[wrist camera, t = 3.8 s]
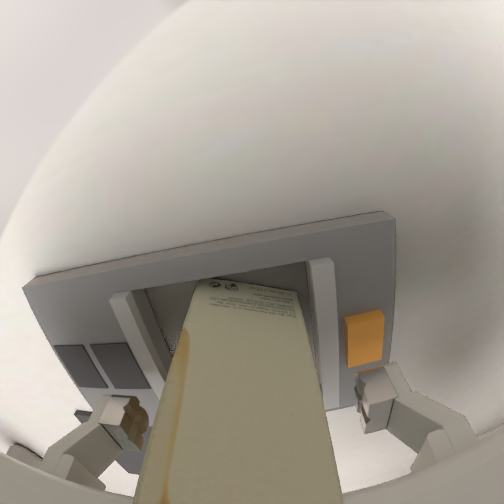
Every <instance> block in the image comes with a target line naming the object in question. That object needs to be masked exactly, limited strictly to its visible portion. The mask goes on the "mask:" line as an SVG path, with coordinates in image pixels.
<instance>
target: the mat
mask: <svg viewBox="0 0 504 504" xmlns="http://www.w3.org/2000/svg"><path fill="white" fill-rule="evenodd" d="M91 414H92V413H91V412H83V411H76V412H75V414H74V415H75V416H76V417H77V419H78V420H79V421H80V422H81V423H84V422H88V420H89V418H90V416H91ZM151 430H152V426H148V430H147V431H146V432H145V433H144V434H143V436H144V438H145V440H144V443H143V447H142V450H141V452H140V451H129V450H123V452H122V453H121V454H120V455H119V456H118V457H117V458H116V459H115V460H116V461H117V462H118V463H119V464H120V465H121V466H122V467H123V468H124V469H125V470H126V471H127V472H128V473H131V474H138V475H140V471H141V467H142V464H143V460H144V456H145V452H146V448H147V445H148V441H149V437H150V434H151Z"/></svg>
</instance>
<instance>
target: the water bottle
mask: <svg viewBox="0 0 504 504" xmlns="http://www.w3.org/2000/svg"><path fill="white" fill-rule="evenodd" d="M6 455H8V456H10V457H12V458H14V459H16V460H18V461H20V462H22V463H25V464H27V465H29V466H32V467H34V468H36V469H39V466H40V464H41V462H42V460H43V459H41V458H40V457H39V456H37V455H36V454H35V453H33V452H31V451H30V450H28V449H27V448H24V447H22V446H20V445H13V446H10V448H9V450H8V452H7V454H6Z"/></svg>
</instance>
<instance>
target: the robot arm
mask: <svg viewBox="0 0 504 504" xmlns="http://www.w3.org/2000/svg"><path fill="white" fill-rule="evenodd" d="M354 381H355V383H356V386H355V387H354V402H355V406H356V410H357V412H359V413H361V416H360V422H361V425H362V429H363V432H364V434H368V433H372V432H376V431H379V430H383V429H387V430H388V431H389V432H390V433H392V434H393V435H394V436H395V437H397V438H398V439H399V440H401V441H402V442H403V443H405V444H406V445H407V446H409V447H410V448H411V449H413V450H414V451H415V452H417V453H418V455H417V457H416V459H415V461H414V463H413V464H412V466H411V468H410V469H411V472H412V473H411V474H408V475H405V476H403V477H400V478H397V479H394V480H391V481H387V482H384V483H381V484H378V485H374V486H371V487H367V488H363V489H359V490H355V491H351V492H347V493H342V498H343V504H504V423H503V424H501V425H499V426H497V427H495V428H493V429H491V430H489V431H487V432H485V433H483V434H481V435H479V436H477V437H476V435H475V433H474V431H473V429H472V428H471V426H470V424H469V422H468V420H467V419H466V417H465V416H463V415H461V414H459V413H457V412H455V411H453V410H451V409H449V408H447V407H445V406H443V405H441V404H439V403H437V402H435V401H433V400H431V399H429V398H427V397H426V396H424V395H422V394H420V393H418V392H413V393H412V391H411V389H410V387H409V385H408V383H407V381H406V379H405V378H404V376H403V374H402V372H401V370H400V368H399V367H398V365H397V363H395V362H393V363H390V364H386V365H383V366H378V367H375V368H371V369H367V370H363V371H359V372H356V373H355V376H354ZM139 404H140V401H139V399H138V398H137V397H136V396H127V395H112V394H103V395H101V396H100V398H99V400H98V402H97V404H96V406H95V408H94V410H93V412H92V414H91V416H90V418H89V420H88V422H84V423H82V424H81V425H80V426H78V427H77V428H76V429H74V430H73V431H71V432H70V433H69V434H67V435H66V436H64V437H63V438H62V439H60V440H59V441H57V442H56V443H55V444H53V445H52V446H50V447H49V448H48V450H47V452H46V454H45V456H44V458H43V460H42V462H41V464H40V466H39V469H36V468H34V467H32V466H29V465H27V464H25V463H22V462H20V461H18V460H16V459H14V458H12V457H10V456H8V455H6V454H4V453H2V452H0V504H133V500H134V497H131V496H126V495H121V494H116V493H112V492H108V491H105V488H106V486H105V484H104V483H102V482H101V481H100V480H99V479H98V477H99V476H100V475H101V474H102V473H103V472H104V471H105V470H106V469H107V468H108V466H109V465H110V464H111V463H112V462H113V461H114V460H115V459H116V458H117V457H118V456H119V455H120V454H121V453H122V452H123V450H129V451H140V452H141V450H142V447H143V443H144V440H145V438H144V436H143V434H144V433H145V432H146V431H147V430H148V426H149V417H148V414H147V412H146V410H145V409H144V408H142V407H141V406H139Z"/></svg>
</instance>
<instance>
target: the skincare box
mask: <svg viewBox="0 0 504 504" xmlns="http://www.w3.org/2000/svg"><path fill="white" fill-rule="evenodd" d="M133 504H343V498H342V492H341V486H340V480H339V476H338V471H337V466H336V461H335V456H334V451H333V446H332V441H331V436H330V432H329V427H328V422H327V417H326V413H325V408H324V403H323V399H322V394H321V390H320V385H319V381H318V376H317V372H316V368H315V364H314V359H313V355H312V351H311V347H310V342H309V338H308V334H307V330H306V325H305V321H304V317H303V313H302V309H301V305H300V301H299V297H298V294H297V292H295V291H289V290H283V289H277V288H271V287H266V286H260V285H253V284H247V283H240V282H234V281H227V280H219V279H210V278H206V279H200V280H198V282H197V285H196V288H195V290H194V293H193V296H192V299H191V302H190V306H189V309H188V312H187V315H186V318H185V321H184V324H183V327H182V331H181V334H180V337H179V340H178V343H177V346H176V349H175V352H174V355H173V358H172V362H171V365H170V368H169V371H168V374H167V378H166V381H165V384H164V388H163V391H162V394H161V398H160V401H159V405H158V408H157V412H156V415H155V419H154V422H153V426H152V430H151V434H150V437H149V441H148V445H147V448H146V452H145V456H144V460H143V464H142V467H141V471H140V475H139V479H138V483H137V487H136V491H135V495H134V500H133Z"/></svg>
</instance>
